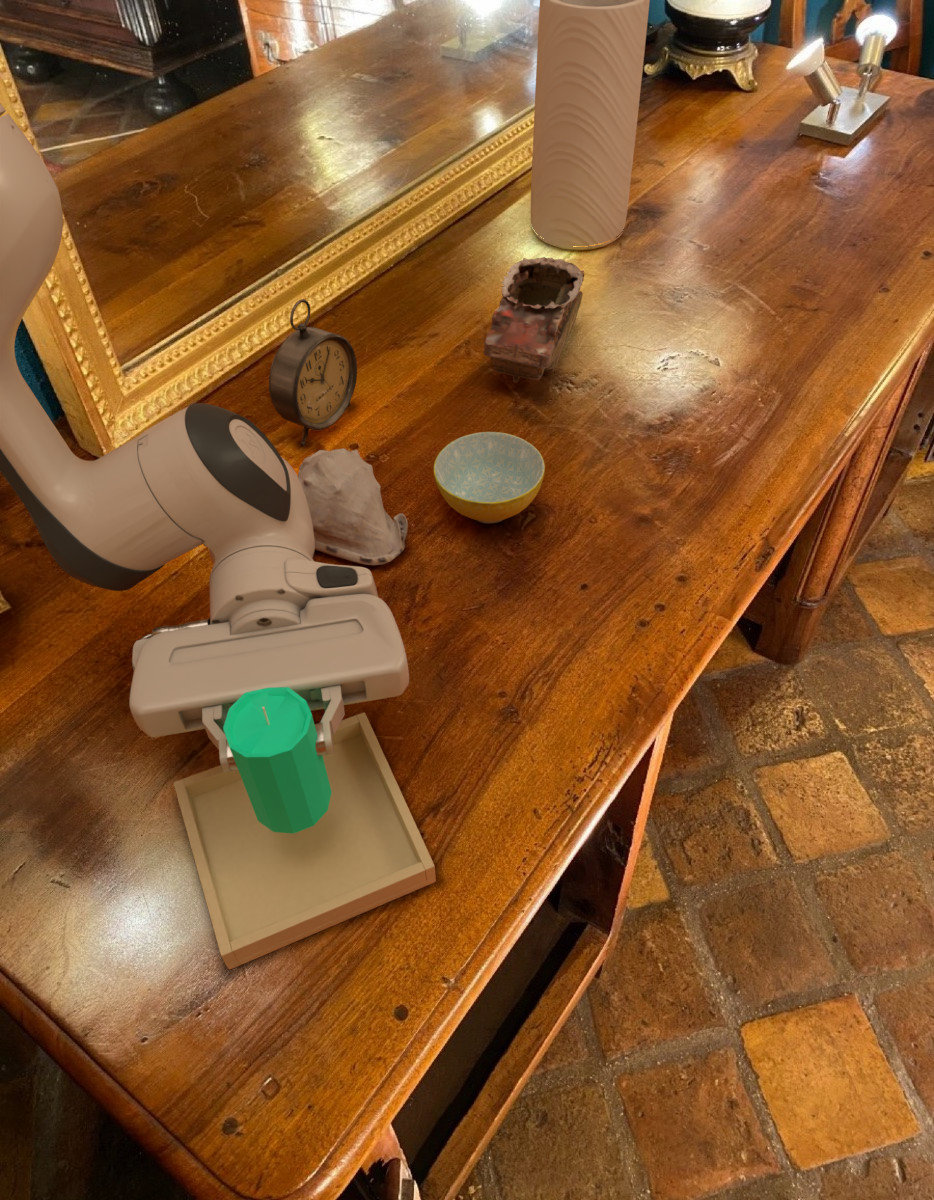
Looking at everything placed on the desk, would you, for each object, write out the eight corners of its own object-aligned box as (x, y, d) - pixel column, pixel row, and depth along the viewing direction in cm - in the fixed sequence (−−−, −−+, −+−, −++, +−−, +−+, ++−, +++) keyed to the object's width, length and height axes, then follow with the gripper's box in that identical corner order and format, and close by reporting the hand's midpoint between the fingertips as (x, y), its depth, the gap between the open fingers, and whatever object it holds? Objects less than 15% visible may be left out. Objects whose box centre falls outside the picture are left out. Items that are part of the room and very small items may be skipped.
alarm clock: (307, 456, 108) (284, 332, 96) (271, 440, 110) (244, 317, 98) (365, 406, 114) (350, 284, 102) (329, 392, 116) (311, 270, 104)
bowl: (432, 478, 106) (429, 434, 101) (534, 471, 106) (536, 427, 101) (439, 550, 98) (437, 506, 93) (549, 542, 99) (552, 498, 94)
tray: (228, 970, 70) (220, 956, 68) (181, 799, 79) (173, 782, 77) (436, 882, 74) (434, 866, 72) (367, 729, 83) (364, 711, 81)
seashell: (397, 576, 96) (390, 504, 88) (270, 551, 98) (252, 478, 91) (433, 497, 103) (429, 424, 96) (314, 476, 106) (301, 403, 99)
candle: (334, 827, 70) (311, 738, 61) (253, 840, 70) (217, 752, 61) (329, 758, 74) (306, 665, 65) (251, 770, 74) (218, 678, 64)
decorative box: (617, 330, 124) (626, 262, 117) (566, 418, 112) (571, 348, 105) (524, 309, 128) (526, 242, 121) (464, 392, 116) (463, 322, 109)
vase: (643, 226, 143) (675, -14, 119) (587, 264, 136) (608, 17, 112) (568, 198, 149) (583, -35, 125) (510, 232, 142) (514, -8, 118)
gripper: (121, 606, 71) (112, 761, 62) (390, 564, 74) (418, 708, 65) (144, 657, 76) (139, 808, 67) (395, 617, 78) (423, 757, 70)
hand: (278, 758), depth 66 cm, fingers closed on candle, 5 cm apart
